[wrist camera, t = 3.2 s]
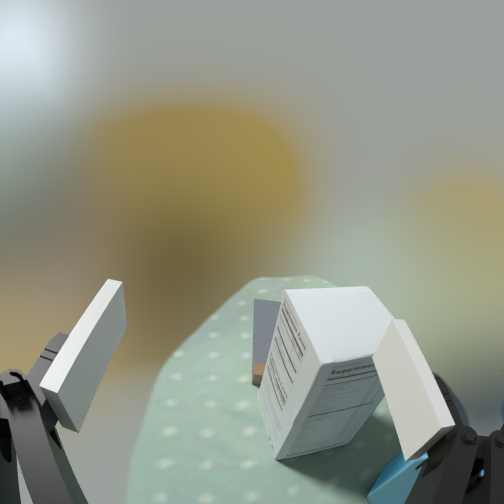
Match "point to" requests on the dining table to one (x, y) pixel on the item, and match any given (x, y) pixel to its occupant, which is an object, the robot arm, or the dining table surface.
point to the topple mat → (263, 335)
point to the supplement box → (322, 369)
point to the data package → (396, 481)
